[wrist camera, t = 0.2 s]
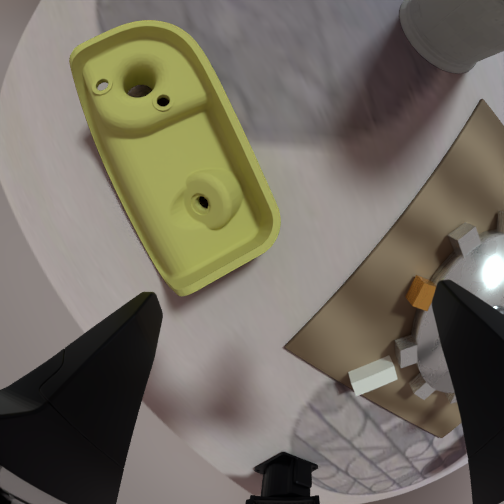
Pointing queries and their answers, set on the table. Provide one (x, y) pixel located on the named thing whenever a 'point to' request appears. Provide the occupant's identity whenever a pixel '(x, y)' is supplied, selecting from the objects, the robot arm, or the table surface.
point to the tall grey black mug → (454, 31)
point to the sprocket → (467, 276)
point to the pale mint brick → (372, 375)
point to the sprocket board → (410, 275)
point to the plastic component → (175, 153)
